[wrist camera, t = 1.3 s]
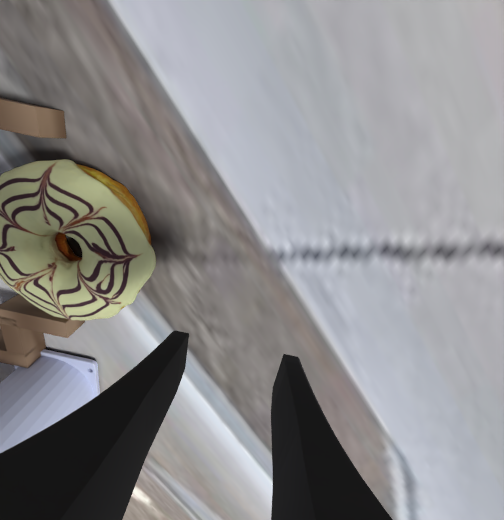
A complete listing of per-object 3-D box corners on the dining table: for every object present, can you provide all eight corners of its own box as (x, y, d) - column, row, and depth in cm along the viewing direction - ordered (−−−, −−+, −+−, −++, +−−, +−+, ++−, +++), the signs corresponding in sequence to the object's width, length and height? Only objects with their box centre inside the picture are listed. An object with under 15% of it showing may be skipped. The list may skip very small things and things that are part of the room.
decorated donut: (191, 250, 19) (173, 273, 15) (102, 319, 22) (71, 351, 19) (76, 123, 16) (21, 117, 12) (-7, 225, 19) (-68, 242, 16)
